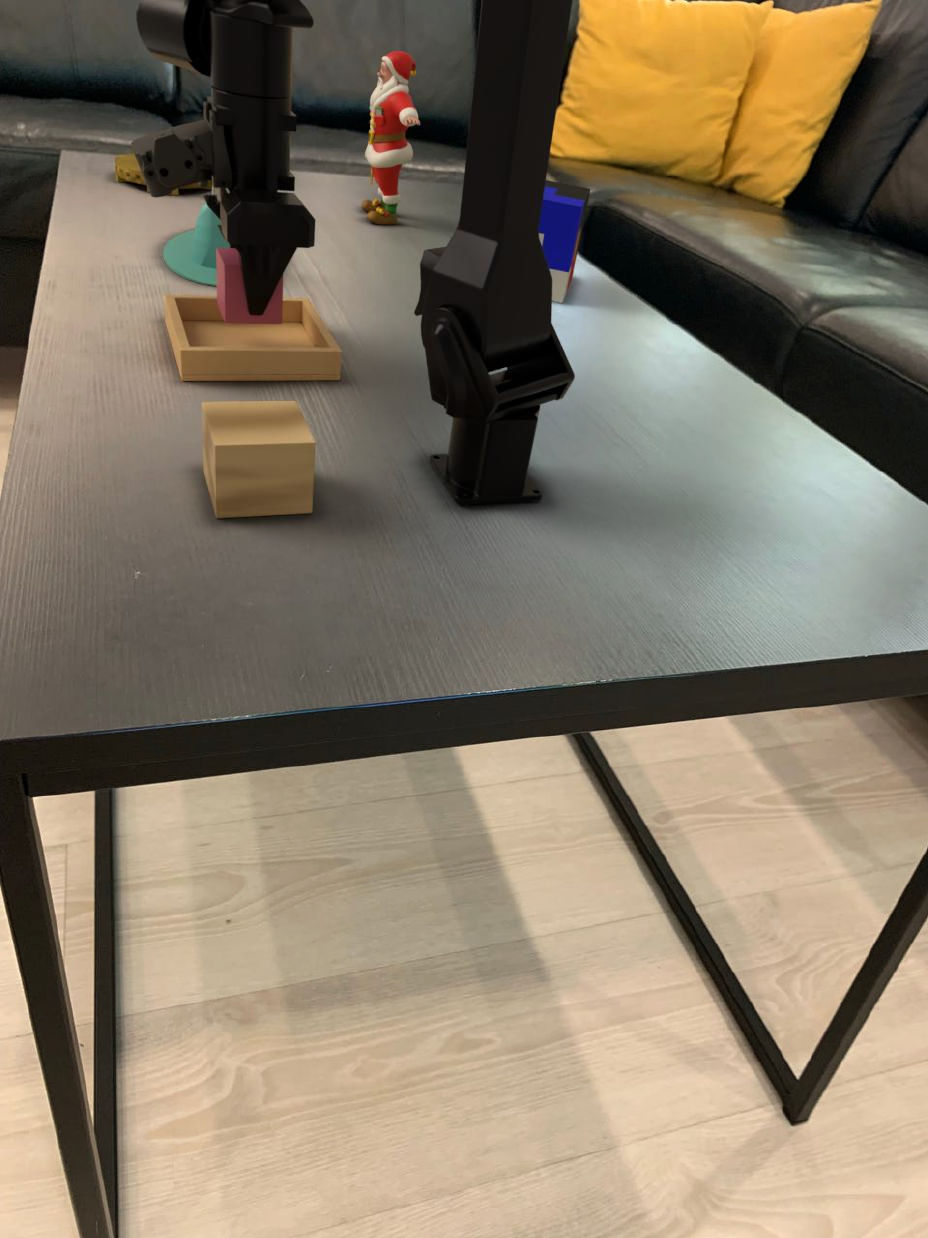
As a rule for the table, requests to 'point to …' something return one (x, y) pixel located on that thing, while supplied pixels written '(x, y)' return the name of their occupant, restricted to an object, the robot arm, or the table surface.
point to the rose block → (241, 293)
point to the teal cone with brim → (197, 249)
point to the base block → (257, 458)
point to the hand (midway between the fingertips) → (250, 304)
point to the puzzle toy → (562, 231)
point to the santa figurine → (389, 134)
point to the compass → (131, 172)
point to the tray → (249, 343)
